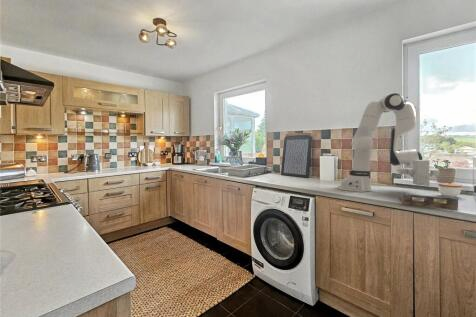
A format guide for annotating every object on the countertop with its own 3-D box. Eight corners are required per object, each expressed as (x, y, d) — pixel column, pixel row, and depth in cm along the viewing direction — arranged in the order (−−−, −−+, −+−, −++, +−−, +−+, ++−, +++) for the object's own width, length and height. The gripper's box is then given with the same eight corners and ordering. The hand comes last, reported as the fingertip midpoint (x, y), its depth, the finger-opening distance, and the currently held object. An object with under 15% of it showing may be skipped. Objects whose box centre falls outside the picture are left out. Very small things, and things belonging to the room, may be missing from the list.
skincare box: (429, 186, 130) (430, 160, 129) (416, 185, 132) (417, 160, 131) (423, 183, 138) (424, 159, 137) (411, 183, 140) (412, 159, 139)
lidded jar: (437, 193, 149) (437, 179, 148) (459, 196, 142) (460, 181, 142) (438, 196, 141) (438, 181, 140) (462, 199, 134) (462, 183, 133)
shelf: (404, 204, 122) (404, 194, 122) (399, 198, 135) (399, 189, 135) (458, 209, 112) (458, 198, 112) (447, 203, 125) (447, 193, 125)
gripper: (396, 165, 151) (399, 167, 139) (435, 166, 142) (443, 168, 129) (395, 174, 151) (399, 177, 139) (434, 176, 142) (442, 179, 130)
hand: (420, 173), depth 134 cm, fingers closed on skincare box, 6 cm apart
